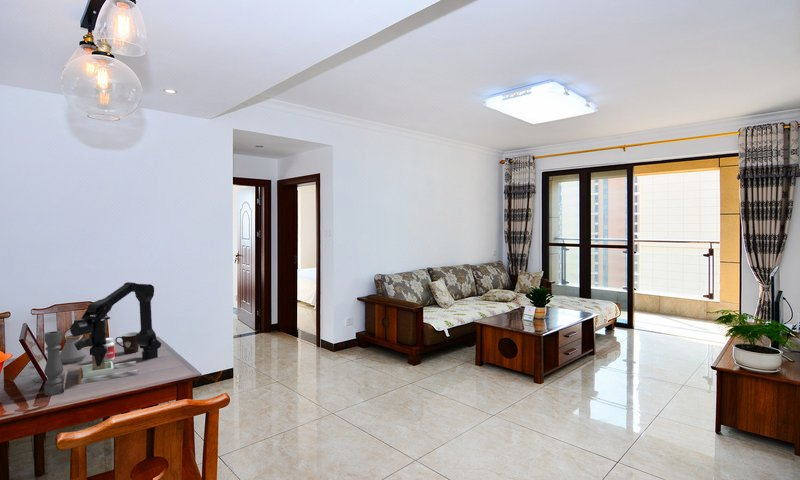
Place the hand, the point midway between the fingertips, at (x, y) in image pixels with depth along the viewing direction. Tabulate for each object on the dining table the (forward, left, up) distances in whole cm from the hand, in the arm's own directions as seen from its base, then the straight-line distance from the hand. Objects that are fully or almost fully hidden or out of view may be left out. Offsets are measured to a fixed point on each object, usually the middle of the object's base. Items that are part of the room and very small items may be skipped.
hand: (98, 364), depth 191 cm
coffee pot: (+8, -41, -6) cm, 42 cm away
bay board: (-4, 0, -6) cm, 7 cm away
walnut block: (0, 0, -2) cm, 2 cm away
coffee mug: (-14, -39, -6) cm, 42 cm away
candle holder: (+15, +10, -6) cm, 19 cm away
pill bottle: (-4, -29, -6) cm, 30 cm away
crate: (0, 0, -5) cm, 5 cm away
